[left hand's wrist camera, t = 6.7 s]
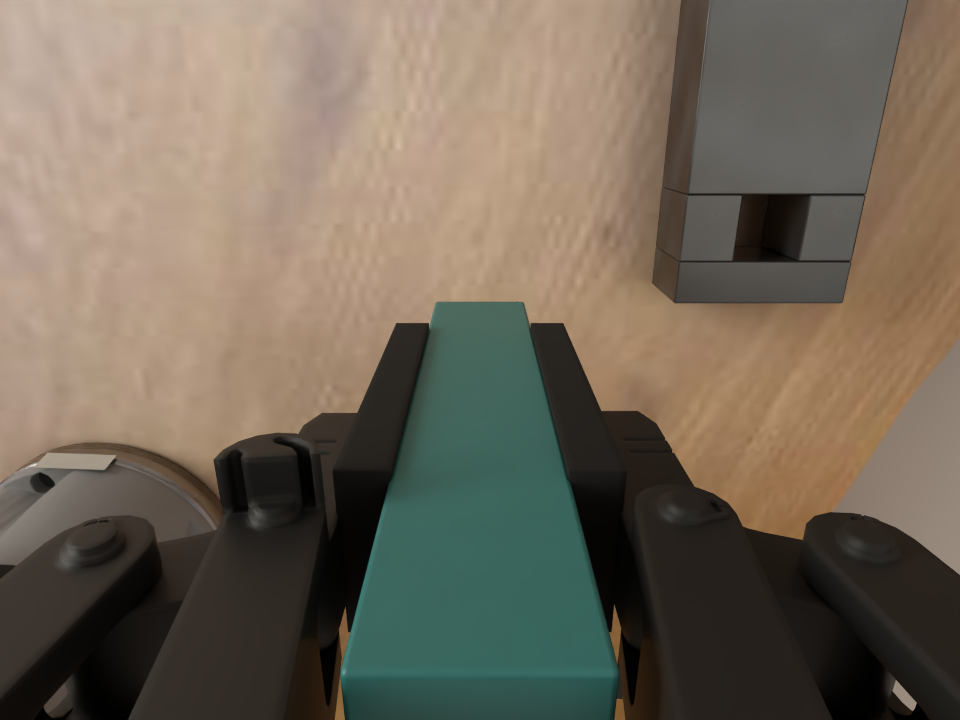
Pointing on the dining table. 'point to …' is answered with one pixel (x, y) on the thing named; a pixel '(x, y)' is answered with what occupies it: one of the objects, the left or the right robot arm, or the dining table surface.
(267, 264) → the dining table surface
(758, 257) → the peg board
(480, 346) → the peg
